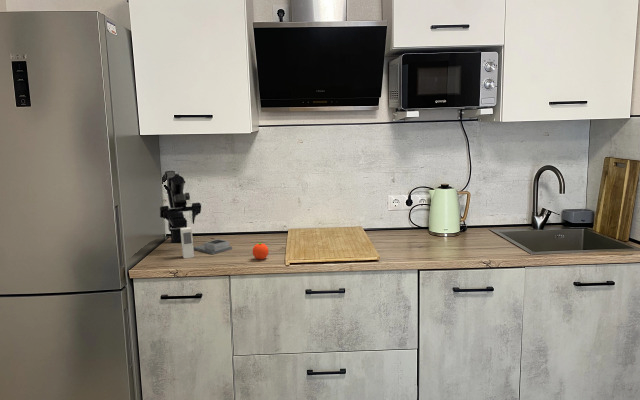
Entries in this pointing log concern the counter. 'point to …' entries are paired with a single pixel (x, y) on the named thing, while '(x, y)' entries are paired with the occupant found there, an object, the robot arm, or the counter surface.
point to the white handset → (187, 242)
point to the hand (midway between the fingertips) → (183, 224)
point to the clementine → (260, 251)
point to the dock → (214, 246)
